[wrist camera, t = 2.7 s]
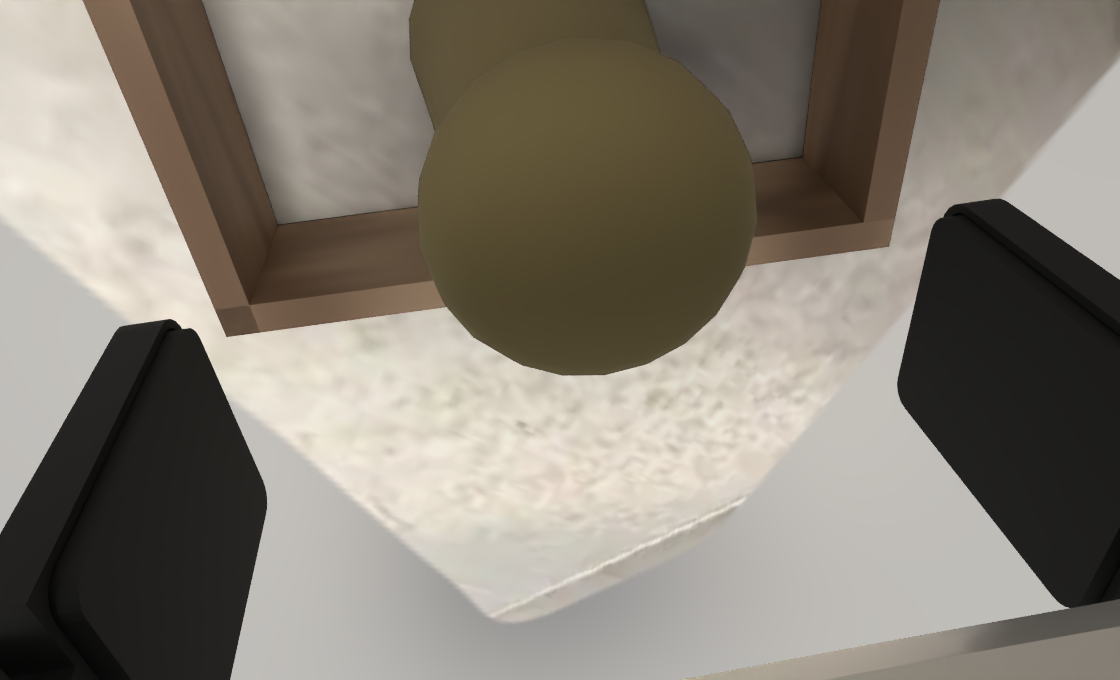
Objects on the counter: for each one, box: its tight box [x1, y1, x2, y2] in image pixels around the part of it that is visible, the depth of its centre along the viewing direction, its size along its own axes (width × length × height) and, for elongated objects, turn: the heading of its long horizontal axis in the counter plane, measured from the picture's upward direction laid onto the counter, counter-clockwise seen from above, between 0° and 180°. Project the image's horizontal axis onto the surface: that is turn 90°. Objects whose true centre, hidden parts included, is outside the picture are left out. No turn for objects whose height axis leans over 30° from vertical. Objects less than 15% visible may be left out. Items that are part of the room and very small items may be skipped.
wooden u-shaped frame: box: [83, 0, 940, 337], centre depth 18 cm, size 17×10×4 cm, turn 95°
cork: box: [409, 0, 757, 375], centre depth 15 cm, size 6×6×11 cm
